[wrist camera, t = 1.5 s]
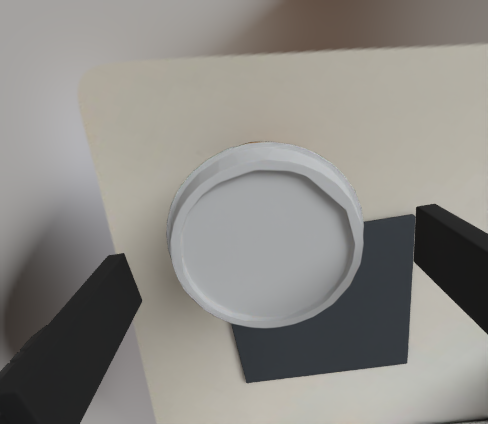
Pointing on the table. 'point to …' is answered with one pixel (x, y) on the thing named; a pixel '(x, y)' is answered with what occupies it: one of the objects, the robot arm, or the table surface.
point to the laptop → (476, 423)
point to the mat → (345, 317)
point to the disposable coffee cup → (265, 234)
